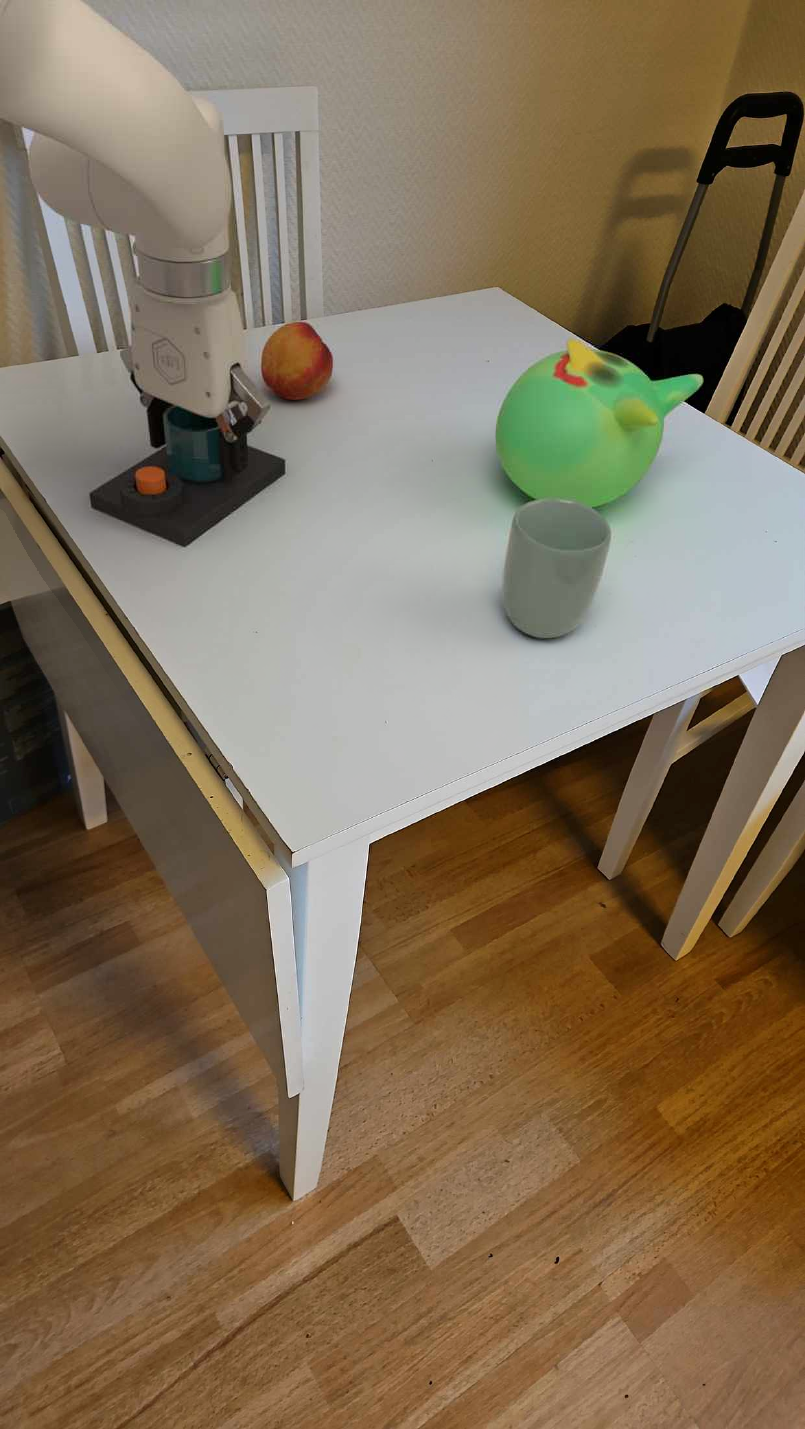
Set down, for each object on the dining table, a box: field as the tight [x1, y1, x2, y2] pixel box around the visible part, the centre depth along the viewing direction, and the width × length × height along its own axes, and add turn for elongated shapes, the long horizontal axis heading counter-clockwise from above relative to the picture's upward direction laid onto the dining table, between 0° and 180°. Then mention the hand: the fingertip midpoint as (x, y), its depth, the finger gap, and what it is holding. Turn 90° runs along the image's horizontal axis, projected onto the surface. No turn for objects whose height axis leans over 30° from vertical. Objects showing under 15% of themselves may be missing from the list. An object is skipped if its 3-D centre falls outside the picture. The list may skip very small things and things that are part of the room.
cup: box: [501, 498, 612, 639], centre depth 79 cm, size 8×8×10 cm
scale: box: [88, 444, 286, 548], centre depth 92 cm, size 16×11×3 cm
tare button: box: [135, 467, 166, 495], centre depth 87 cm, size 3×3×2 cm
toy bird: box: [495, 338, 704, 508], centre depth 93 cm, size 18×17×15 cm
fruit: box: [260, 321, 334, 401], centre depth 106 cm, size 8×8×8 cm
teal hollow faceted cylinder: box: [163, 405, 232, 483], centre depth 91 cm, size 6×6×6 cm
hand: (199, 457), depth 92 cm, fingers open, 8 cm apart
